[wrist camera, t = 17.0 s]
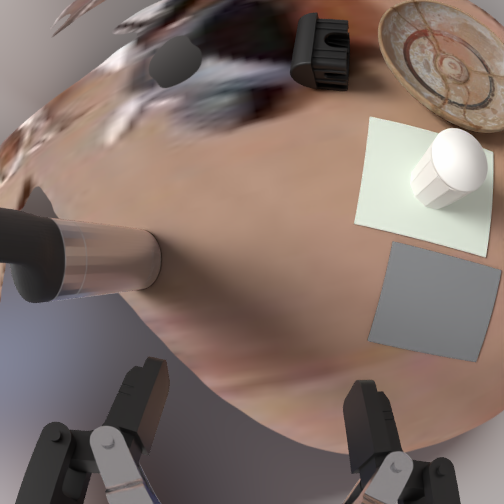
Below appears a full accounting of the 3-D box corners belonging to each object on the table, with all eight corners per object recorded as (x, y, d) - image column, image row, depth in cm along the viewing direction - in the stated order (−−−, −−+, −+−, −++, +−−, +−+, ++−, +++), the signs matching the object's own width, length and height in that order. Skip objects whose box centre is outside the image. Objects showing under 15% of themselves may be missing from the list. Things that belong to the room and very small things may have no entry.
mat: (367, 340, 32) (367, 340, 31) (392, 241, 31) (393, 241, 31) (474, 361, 27) (475, 362, 27) (500, 270, 26) (501, 270, 26)
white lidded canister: (408, 202, 30) (430, 181, 21) (412, 155, 30) (433, 120, 20) (452, 213, 28) (486, 198, 19) (455, 167, 28) (487, 138, 19)
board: (354, 223, 33) (354, 223, 32) (369, 118, 32) (369, 116, 32) (484, 257, 27) (485, 257, 27) (492, 153, 26) (493, 152, 26)
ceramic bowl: (355, 93, 33) (355, 72, 28) (395, 2, 30) (396, -18, 25) (503, 174, 26) (520, 164, 21) (515, 63, 23) (525, 48, 18)
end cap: (303, 40, 35) (294, 11, 28) (350, 43, 32) (347, 13, 26) (295, 90, 35) (284, 62, 29) (347, 94, 33) (345, 66, 26)
